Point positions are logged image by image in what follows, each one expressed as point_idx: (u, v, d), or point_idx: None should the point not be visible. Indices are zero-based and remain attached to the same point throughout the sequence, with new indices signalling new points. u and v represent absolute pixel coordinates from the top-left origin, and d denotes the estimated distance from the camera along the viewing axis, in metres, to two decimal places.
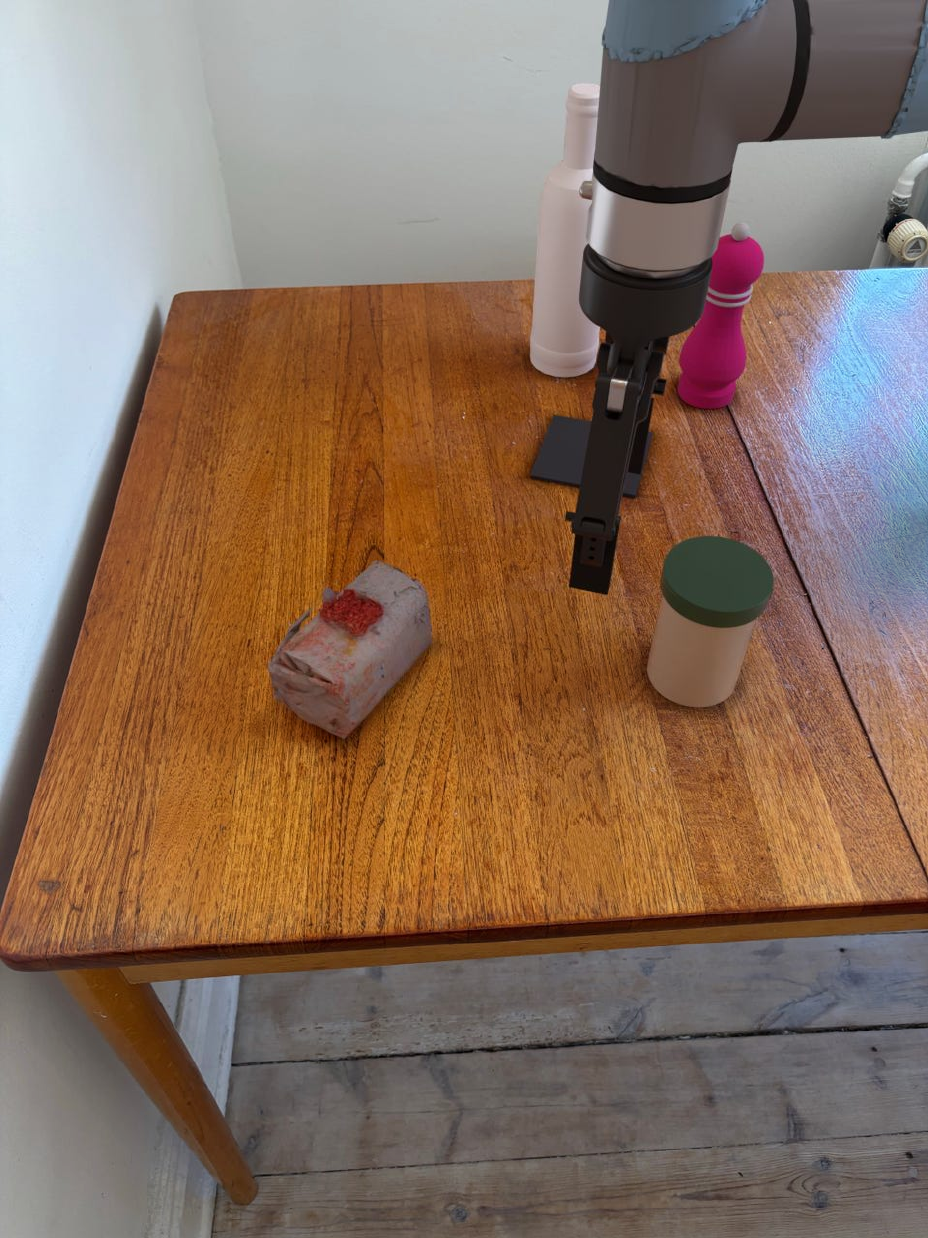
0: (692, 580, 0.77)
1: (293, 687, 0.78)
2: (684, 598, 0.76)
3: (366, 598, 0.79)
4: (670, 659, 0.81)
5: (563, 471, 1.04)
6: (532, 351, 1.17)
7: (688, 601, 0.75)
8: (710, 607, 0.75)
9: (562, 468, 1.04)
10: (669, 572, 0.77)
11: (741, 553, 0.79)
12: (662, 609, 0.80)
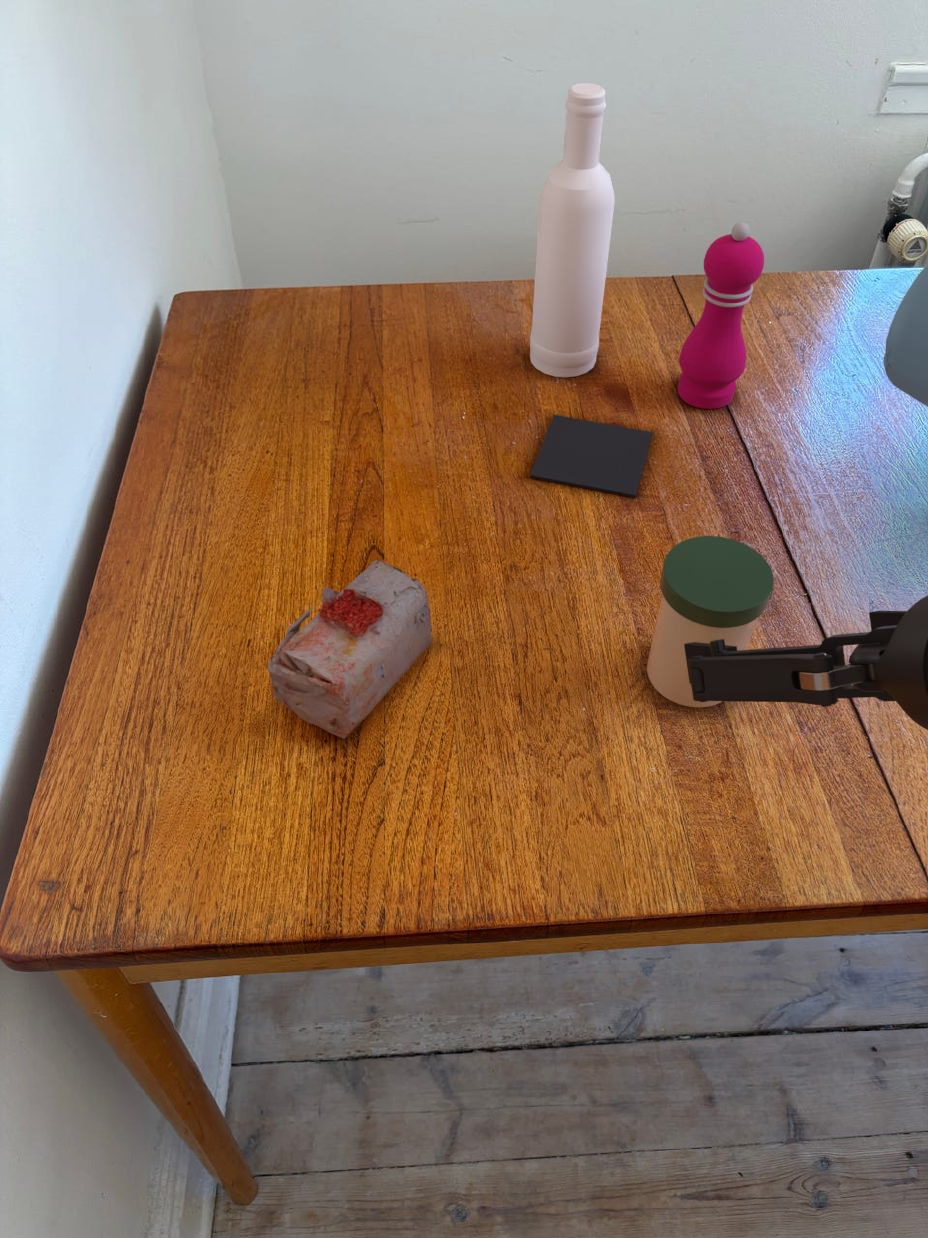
0: (692, 580, 0.77)
1: (293, 687, 0.78)
2: (684, 598, 0.76)
3: (366, 598, 0.79)
4: (670, 659, 0.81)
5: (563, 471, 1.04)
6: (532, 351, 1.17)
7: (688, 601, 0.75)
8: (710, 607, 0.75)
9: (562, 468, 1.04)
10: (669, 572, 0.77)
11: (741, 553, 0.79)
12: (662, 609, 0.80)
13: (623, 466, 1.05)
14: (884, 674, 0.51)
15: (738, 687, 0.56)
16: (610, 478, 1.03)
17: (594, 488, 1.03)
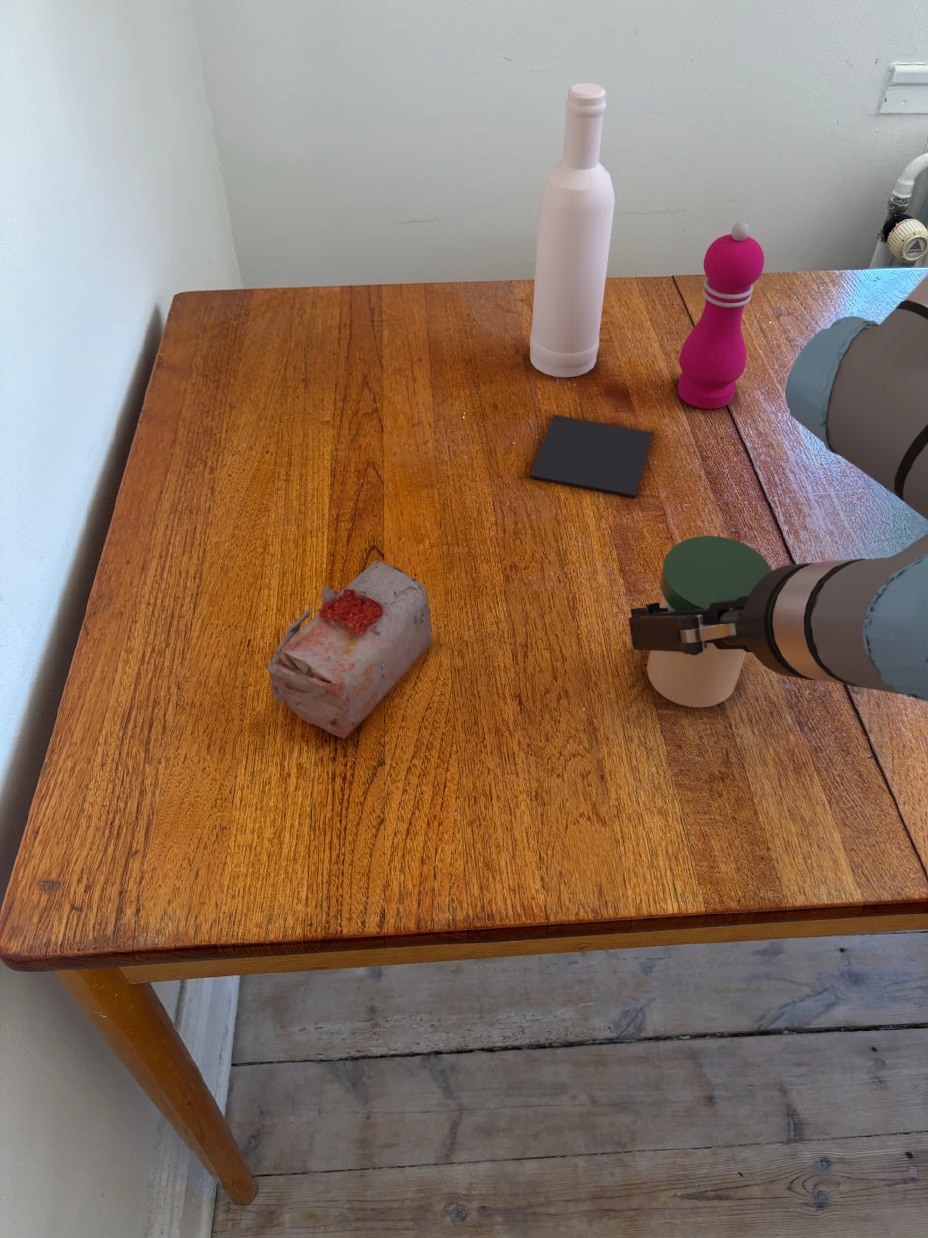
0: (692, 580, 0.77)
1: (293, 687, 0.78)
2: (684, 598, 0.76)
3: (366, 598, 0.79)
4: (670, 659, 0.81)
5: (563, 471, 1.04)
6: (532, 351, 1.17)
7: (688, 601, 0.75)
8: None
9: (562, 468, 1.04)
10: (669, 572, 0.77)
11: (741, 553, 0.79)
12: None
13: (623, 466, 1.05)
14: (741, 630, 0.67)
15: (653, 639, 0.74)
16: (610, 478, 1.03)
17: (594, 488, 1.03)
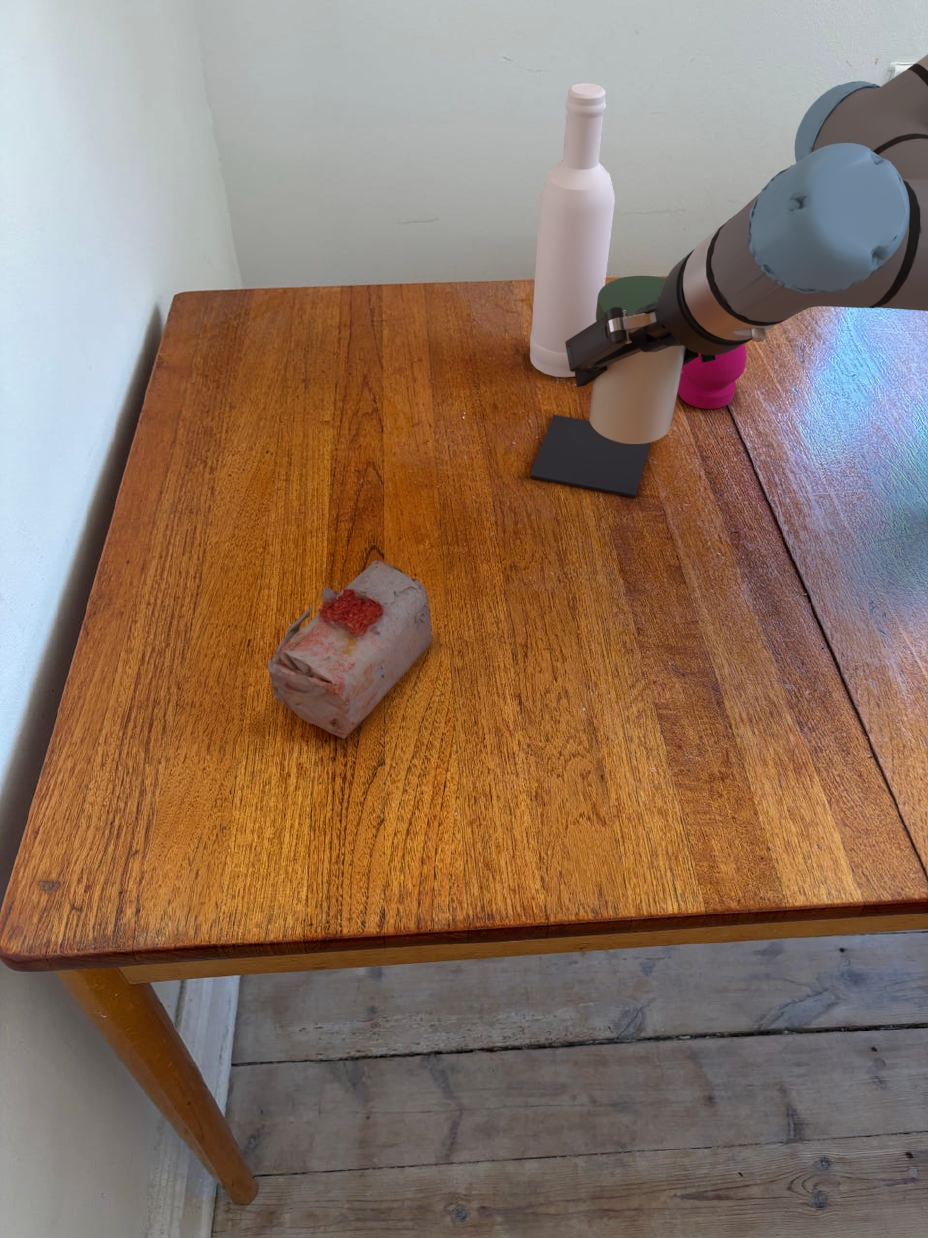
0: (623, 305, 0.84)
1: (293, 687, 0.78)
2: None
3: (366, 598, 0.79)
4: (607, 392, 0.88)
5: (563, 471, 1.04)
6: (532, 351, 1.17)
7: None
8: None
9: (562, 468, 1.04)
10: (602, 300, 0.84)
11: None
12: None
13: (623, 466, 1.05)
14: (660, 311, 0.73)
15: (585, 350, 0.81)
16: (610, 478, 1.03)
17: (594, 488, 1.03)
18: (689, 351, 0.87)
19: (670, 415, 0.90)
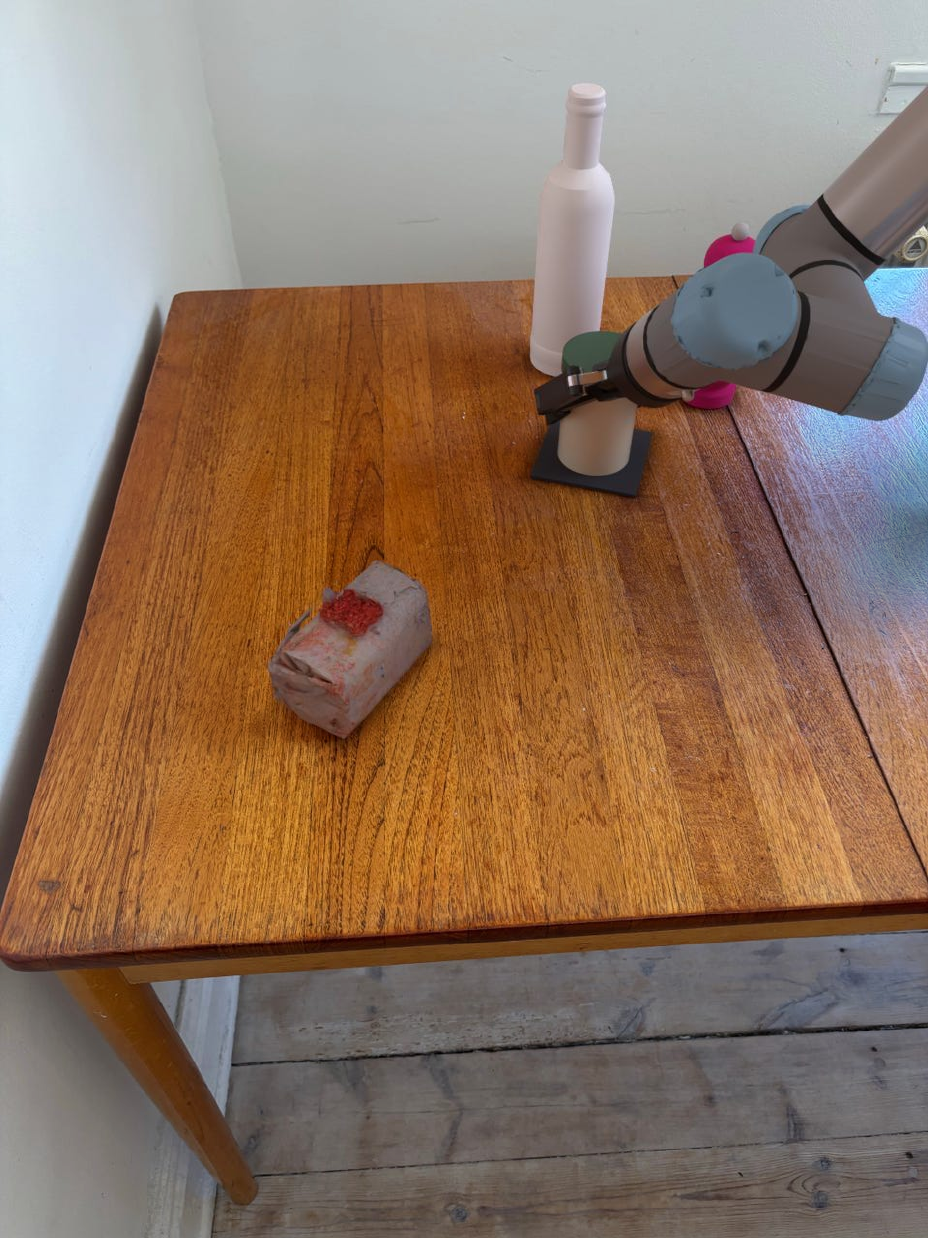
0: (584, 358, 0.97)
1: (293, 687, 0.78)
2: None
3: (366, 598, 0.79)
4: (571, 431, 1.01)
5: (563, 471, 1.04)
6: (532, 351, 1.17)
7: None
8: None
9: (562, 468, 1.04)
10: (566, 353, 0.97)
11: None
12: None
13: None
14: (609, 371, 0.87)
15: (550, 398, 0.94)
16: (610, 478, 1.03)
17: (594, 488, 1.03)
18: None
19: (627, 451, 1.03)
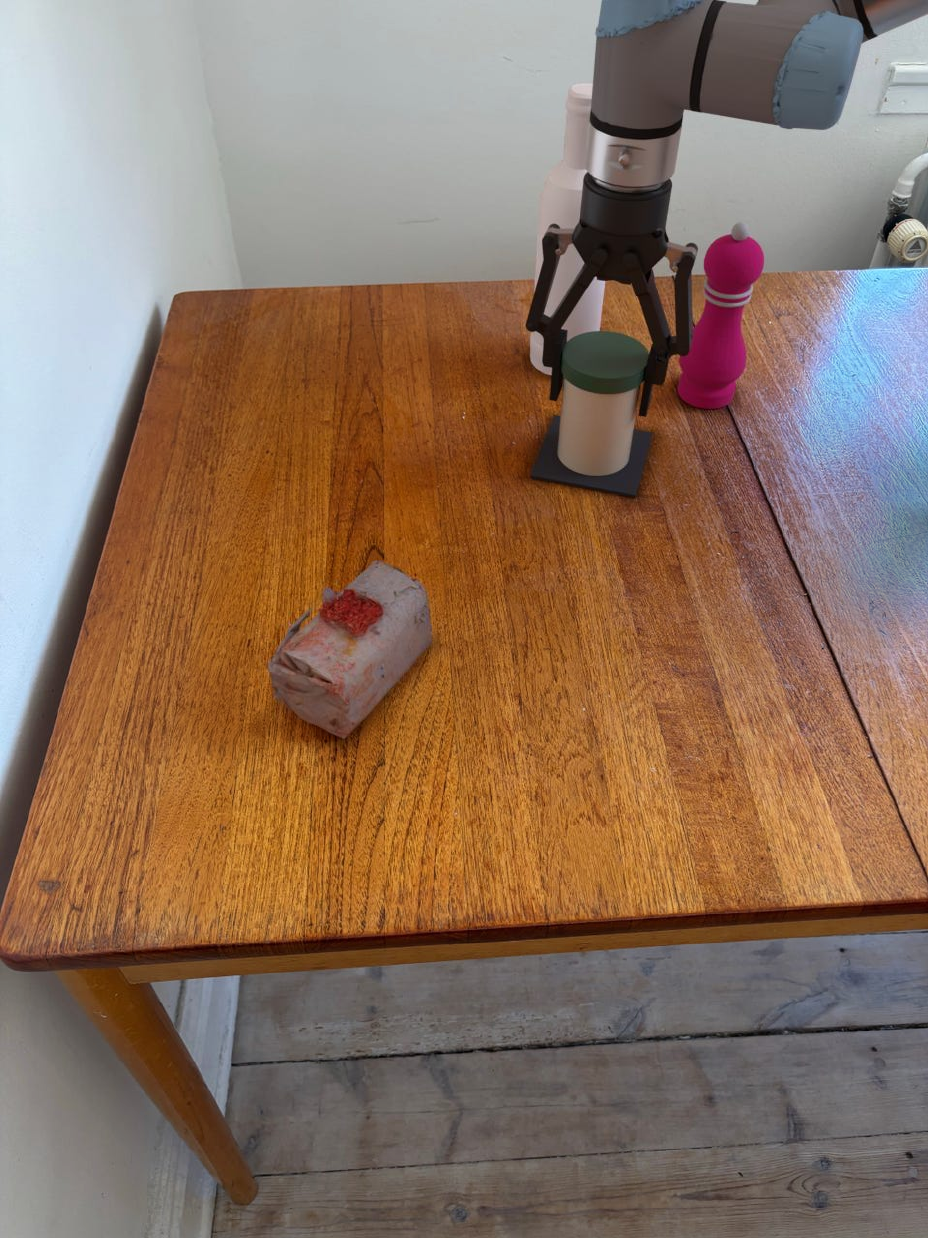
0: (584, 358, 0.97)
1: (293, 687, 0.78)
2: (576, 370, 0.96)
3: (366, 598, 0.79)
4: (571, 431, 1.01)
5: (563, 471, 1.04)
6: (532, 351, 1.17)
7: (579, 372, 0.95)
8: (596, 375, 0.95)
9: (562, 468, 1.04)
10: (566, 353, 0.97)
11: (625, 341, 0.99)
12: (563, 389, 1.00)
13: None
14: None
15: None
16: (610, 478, 1.03)
17: (594, 488, 1.03)
18: (648, 356, 0.96)
19: (627, 451, 1.03)
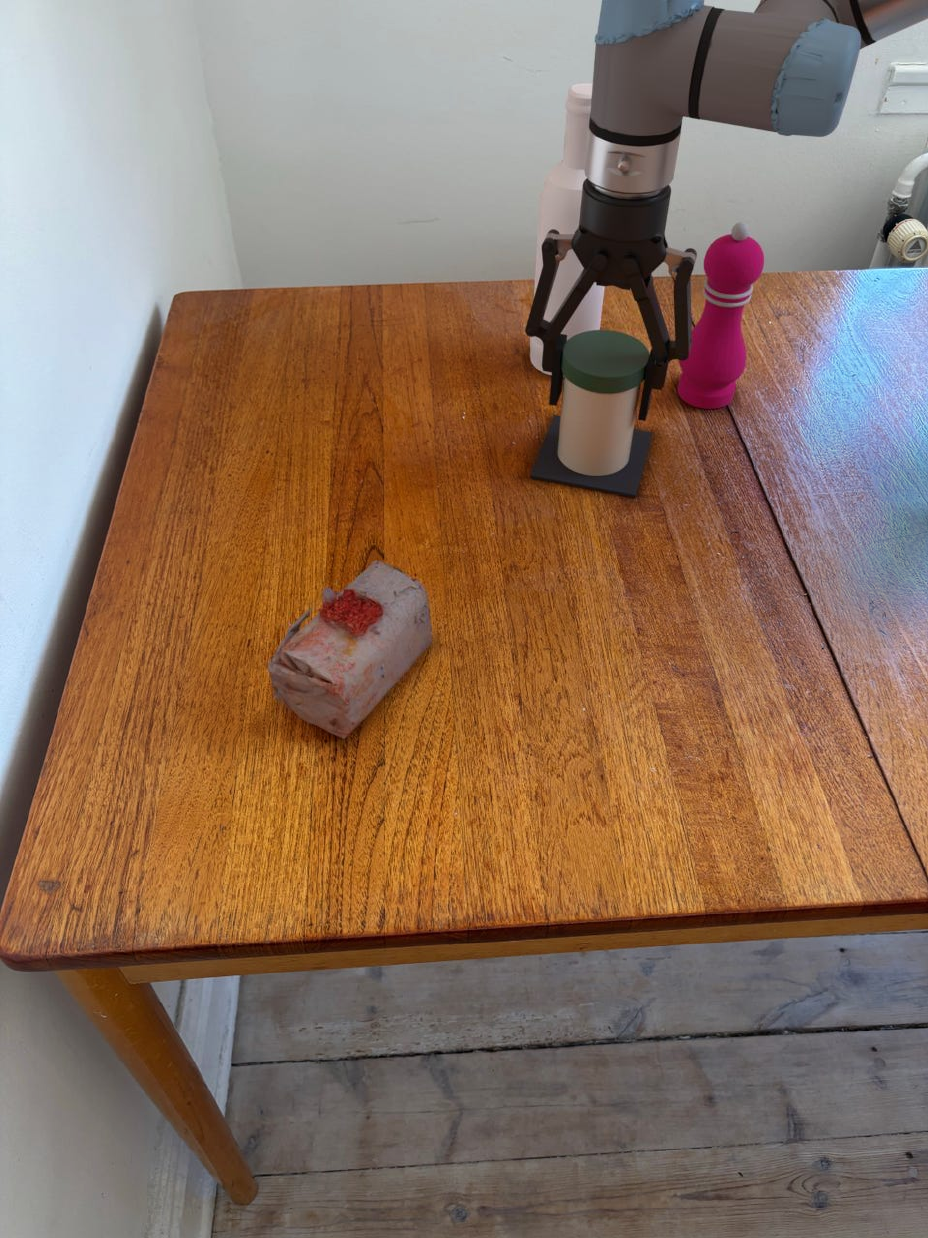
0: (617, 365, 0.96)
1: (293, 687, 0.78)
2: (638, 370, 0.95)
3: (366, 598, 0.79)
4: (571, 431, 1.01)
5: (563, 471, 1.04)
6: (532, 351, 1.17)
7: (641, 369, 0.96)
8: (646, 360, 0.97)
9: (562, 468, 1.04)
10: (610, 374, 0.95)
11: (582, 340, 0.99)
12: (563, 389, 1.00)
13: None
14: None
15: None
16: (610, 478, 1.03)
17: (594, 488, 1.03)
18: (648, 360, 0.96)
19: (627, 451, 1.03)
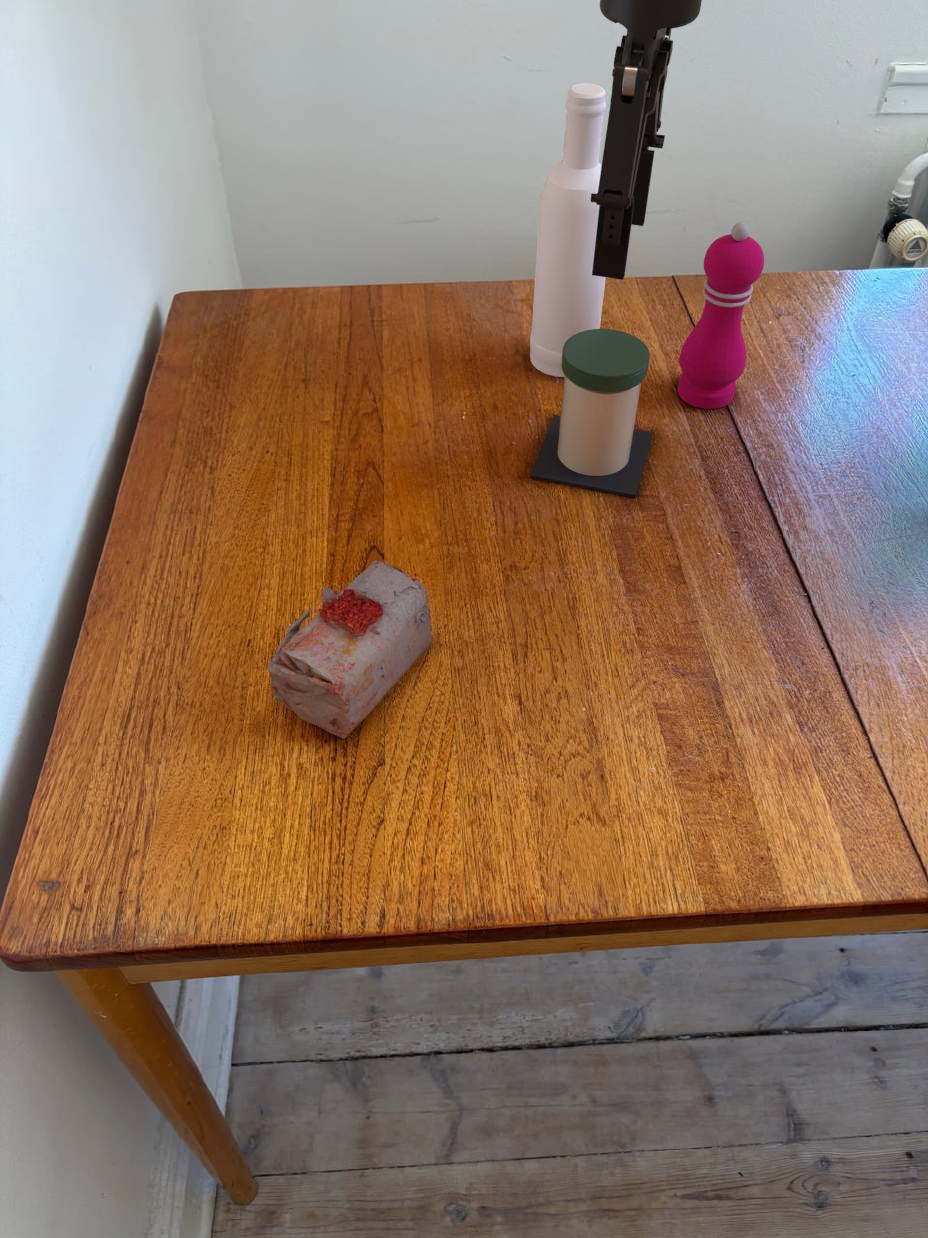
0: (627, 346, 0.98)
1: (293, 687, 0.78)
2: (634, 336, 0.99)
3: (366, 598, 0.79)
4: (571, 431, 1.01)
5: (563, 471, 1.04)
6: (532, 351, 1.17)
7: (631, 335, 0.99)
8: (615, 331, 1.00)
9: (562, 468, 1.04)
10: (645, 351, 0.97)
11: (585, 363, 0.96)
12: (564, 389, 1.00)
13: None
14: (641, 29, 0.74)
15: (623, 156, 0.77)
16: (610, 478, 1.03)
17: (594, 488, 1.03)
18: (646, 153, 0.88)
19: (627, 451, 1.03)
